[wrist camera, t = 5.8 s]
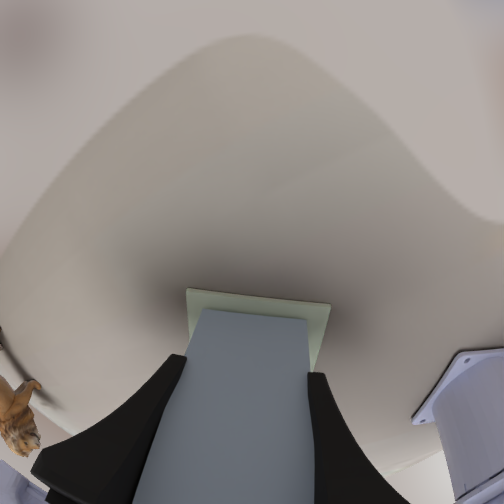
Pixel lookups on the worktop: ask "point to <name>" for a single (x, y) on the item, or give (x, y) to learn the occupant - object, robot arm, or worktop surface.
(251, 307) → the mat
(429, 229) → the worktop surface
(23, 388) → the lion figurine
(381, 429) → the worktop surface
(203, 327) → the domino
